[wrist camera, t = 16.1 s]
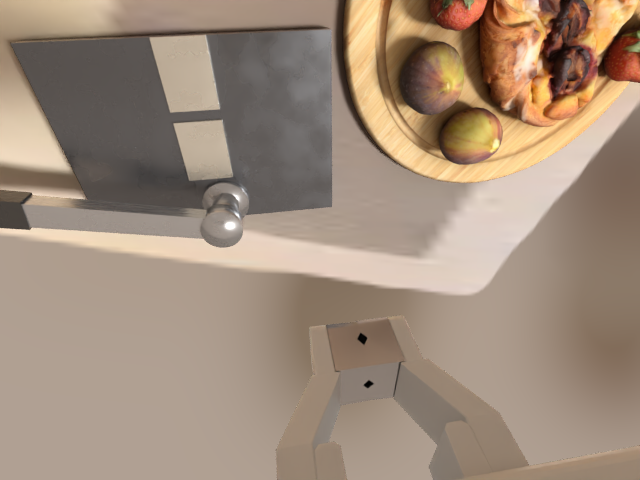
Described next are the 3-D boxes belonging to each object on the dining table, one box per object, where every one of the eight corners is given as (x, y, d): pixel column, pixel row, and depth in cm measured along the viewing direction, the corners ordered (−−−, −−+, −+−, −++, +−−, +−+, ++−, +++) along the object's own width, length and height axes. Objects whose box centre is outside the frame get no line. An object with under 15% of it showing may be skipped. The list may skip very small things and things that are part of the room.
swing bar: (244, 205, 34) (243, 215, 32) (242, 237, 36) (241, 248, 35) (-3, 183, 29) (-18, 194, 28) (12, 222, 32) (-1, 233, 30)
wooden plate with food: (743, -79, 31) (875, -101, 24) (509, 208, 46) (550, 243, 40) (481, -383, 20) (586, -571, 14) (291, 119, 36) (297, 146, 29)
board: (21, 40, 28) (-22, 49, 24) (328, 27, 31) (339, 33, 26) (109, 224, 39) (90, 253, 35) (329, 203, 42) (337, 228, 38)
